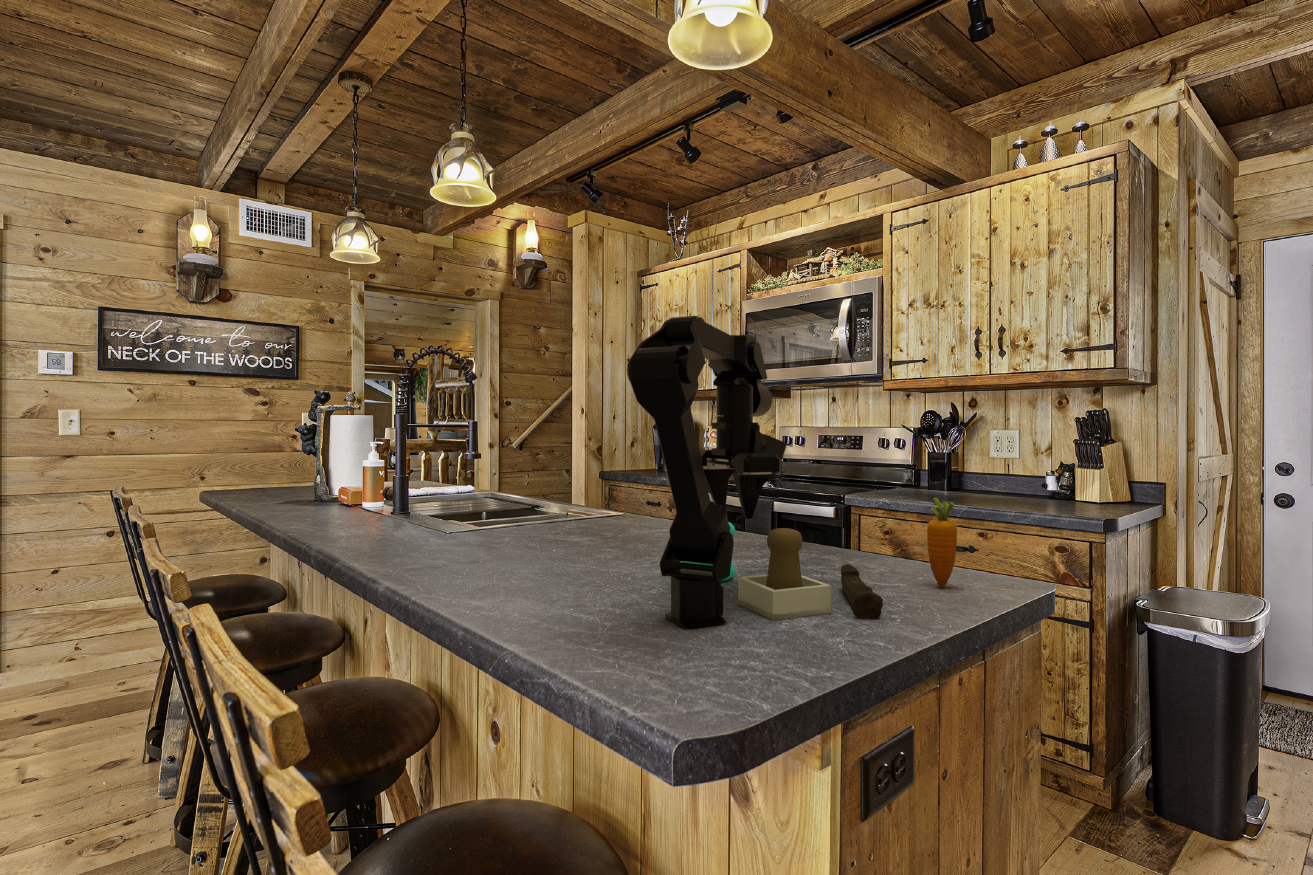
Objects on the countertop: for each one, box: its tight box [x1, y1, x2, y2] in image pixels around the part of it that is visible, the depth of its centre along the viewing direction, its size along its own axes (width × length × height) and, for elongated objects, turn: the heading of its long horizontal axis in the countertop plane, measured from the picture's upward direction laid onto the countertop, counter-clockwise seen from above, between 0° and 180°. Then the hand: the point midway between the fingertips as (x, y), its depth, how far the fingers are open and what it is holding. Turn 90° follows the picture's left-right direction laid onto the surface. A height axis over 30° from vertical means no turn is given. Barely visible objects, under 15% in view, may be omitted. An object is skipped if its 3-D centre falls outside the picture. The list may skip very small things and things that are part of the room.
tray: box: [737, 574, 832, 621], centre depth 101 cm, size 10×10×4 cm
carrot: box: [926, 497, 958, 589], centre depth 114 cm, size 5×5×15 cm
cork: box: [766, 527, 803, 590], centre depth 101 cm, size 6×6×11 cm
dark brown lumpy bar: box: [840, 563, 884, 620], centre depth 105 cm, size 19×4×5 cm, turn 172°
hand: (734, 515), depth 107 cm, fingers open, 9 cm apart
